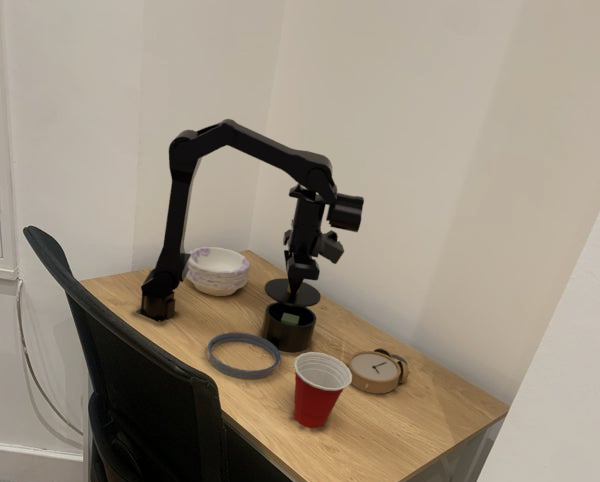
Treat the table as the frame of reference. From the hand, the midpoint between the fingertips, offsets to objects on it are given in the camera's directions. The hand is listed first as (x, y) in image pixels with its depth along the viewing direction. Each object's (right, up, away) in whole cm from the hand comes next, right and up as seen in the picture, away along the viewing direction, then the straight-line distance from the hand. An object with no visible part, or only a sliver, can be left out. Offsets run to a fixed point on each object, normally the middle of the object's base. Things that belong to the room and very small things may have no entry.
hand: (292, 290), depth 137 cm
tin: (-2, -10, +7) cm, 12 cm away
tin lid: (0, 0, 0) cm, 1 cm away
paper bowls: (-20, +4, +21) cm, 29 cm away
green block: (-2, -10, +6) cm, 12 cm away
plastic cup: (+3, -27, -16) cm, 32 cm away
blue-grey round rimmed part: (-10, -15, -4) cm, 19 cm away
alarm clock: (+18, -19, +2) cm, 26 cm away
